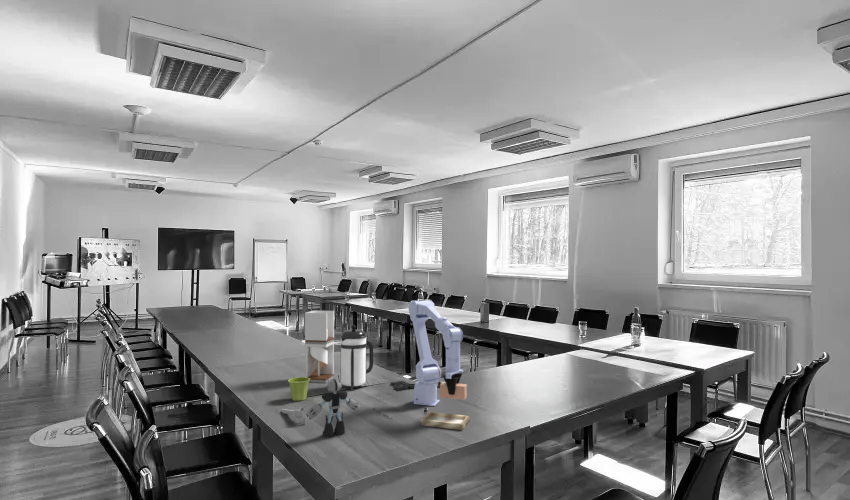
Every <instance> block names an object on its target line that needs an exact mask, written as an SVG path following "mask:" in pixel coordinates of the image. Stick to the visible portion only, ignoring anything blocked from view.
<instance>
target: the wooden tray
mask: <svg viewBox="0 0 850 500" xmlns="http://www.w3.org/2000/svg"><path fill="white" fill-rule="evenodd" d="M469 422H470V415H464V414H457V413H456V414H455V413H445V412H436V411H428V412H427V413H426V414H425V415H424V416H423V417H422V418H421V419H420V426H423V427H424V426H425V427H433V428H440V429H449V430H456V431H457V430H460V431H464V430H465V428H466V426H467V425H468V424H469Z"/></svg>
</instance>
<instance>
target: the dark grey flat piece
mask: <svg viewBox="0 0 850 500" xmlns="http://www.w3.org/2000/svg"><path fill="white" fill-rule="evenodd" d="M442 382H443V381H438V382H437V387H440V384H441V383H442ZM444 382H445V381H444ZM445 383H446V382H445ZM389 385H390V386H392V387H393V390H396V391H398V392H401V391H402V392H403V391H407V390H408V391H409V389H414V386H415V383H409V382H406V381H405V380H397V381H391V382H390V383H389Z"/></svg>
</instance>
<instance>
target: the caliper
mask: <svg viewBox="0 0 850 500" xmlns="http://www.w3.org/2000/svg"><path fill="white" fill-rule="evenodd" d="M280 412H281V413H282V414H286V415H292V416H294V418H297V419H298V421H299V424H300V425H302V426H303V425H305V424H306V415H305V414H306V413H305V409H304V407H302V406H301V407H299V408H298V409H287V408H283V409H281V411H280Z"/></svg>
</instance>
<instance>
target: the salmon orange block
mask: <svg viewBox="0 0 850 500" xmlns="http://www.w3.org/2000/svg"><path fill="white" fill-rule="evenodd" d="M441 382H442V383H441V384H440V386H439V398H443V399H453V400H463V401H464V400H466V399H467V398H468V391H467V390H468V384H467V383H459V384H458V383H456V388H455V394H454V395H449V393H448V388H447V384H446V383H445V381H441Z"/></svg>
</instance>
